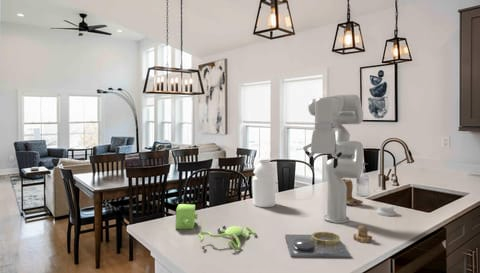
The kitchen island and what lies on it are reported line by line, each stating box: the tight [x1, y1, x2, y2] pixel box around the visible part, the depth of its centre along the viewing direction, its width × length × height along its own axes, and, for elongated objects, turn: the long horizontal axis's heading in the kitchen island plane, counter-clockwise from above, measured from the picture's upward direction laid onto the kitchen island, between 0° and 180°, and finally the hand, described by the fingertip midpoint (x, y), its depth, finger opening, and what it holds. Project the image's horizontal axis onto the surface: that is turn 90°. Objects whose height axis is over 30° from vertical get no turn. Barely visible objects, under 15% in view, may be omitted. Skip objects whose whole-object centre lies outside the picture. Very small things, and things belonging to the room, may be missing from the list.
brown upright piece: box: [342, 178, 364, 206], centre depth 202 cm, size 15×12×15 cm
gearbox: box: [175, 203, 199, 230], centre depth 160 cm, size 18×10×10 cm, turn 4°
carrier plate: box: [284, 231, 351, 258], centre depth 133 cm, size 20×22×4 cm
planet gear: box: [352, 225, 373, 244], centre depth 141 cm, size 8×8×6 cm
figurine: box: [198, 225, 257, 253], centre depth 141 cm, size 18×27×6 cm
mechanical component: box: [376, 204, 397, 217], centre depth 180 cm, size 10×4×10 cm
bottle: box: [252, 157, 277, 208], centre depth 200 cm, size 14×14×28 cm
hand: (323, 167), depth 141 cm, fingers open, 9 cm apart
